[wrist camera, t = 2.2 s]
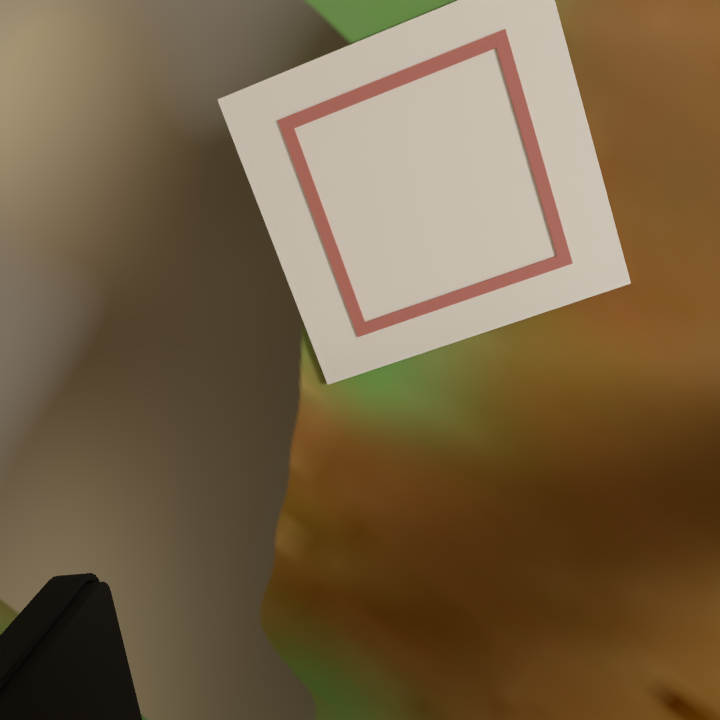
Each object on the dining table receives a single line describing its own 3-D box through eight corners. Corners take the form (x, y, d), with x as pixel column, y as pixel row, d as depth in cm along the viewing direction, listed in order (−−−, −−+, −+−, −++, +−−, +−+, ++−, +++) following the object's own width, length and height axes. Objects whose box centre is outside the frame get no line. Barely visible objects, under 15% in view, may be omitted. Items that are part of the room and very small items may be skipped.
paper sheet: (543, -34, 29) (545, -37, 29) (628, 282, 32) (631, 283, 32) (218, 100, 31) (216, 99, 31) (328, 383, 34) (327, 385, 34)
